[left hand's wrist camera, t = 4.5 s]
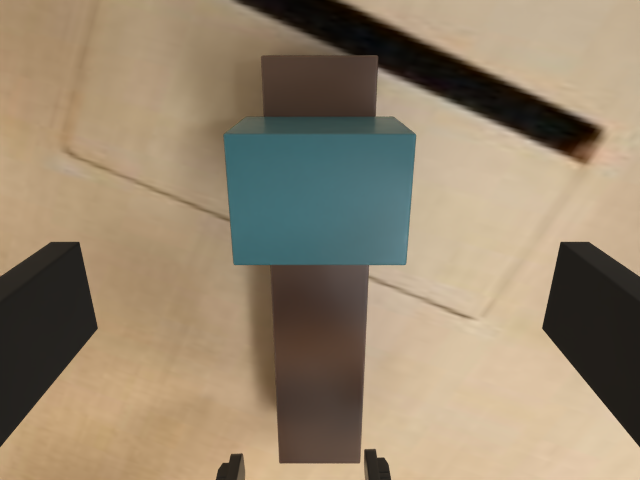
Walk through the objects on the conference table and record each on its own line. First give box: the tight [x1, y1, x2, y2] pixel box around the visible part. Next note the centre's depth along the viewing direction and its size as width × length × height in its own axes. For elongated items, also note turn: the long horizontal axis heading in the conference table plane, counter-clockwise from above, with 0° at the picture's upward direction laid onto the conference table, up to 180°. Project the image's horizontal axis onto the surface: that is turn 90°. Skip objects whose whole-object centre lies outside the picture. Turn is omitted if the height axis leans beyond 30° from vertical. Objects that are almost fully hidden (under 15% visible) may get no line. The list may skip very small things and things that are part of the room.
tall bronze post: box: [261, 56, 378, 463], centre depth 31 cm, size 28×6×5 cm, turn 0°
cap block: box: [223, 117, 416, 265], centre depth 23 cm, size 6×8×6 cm
